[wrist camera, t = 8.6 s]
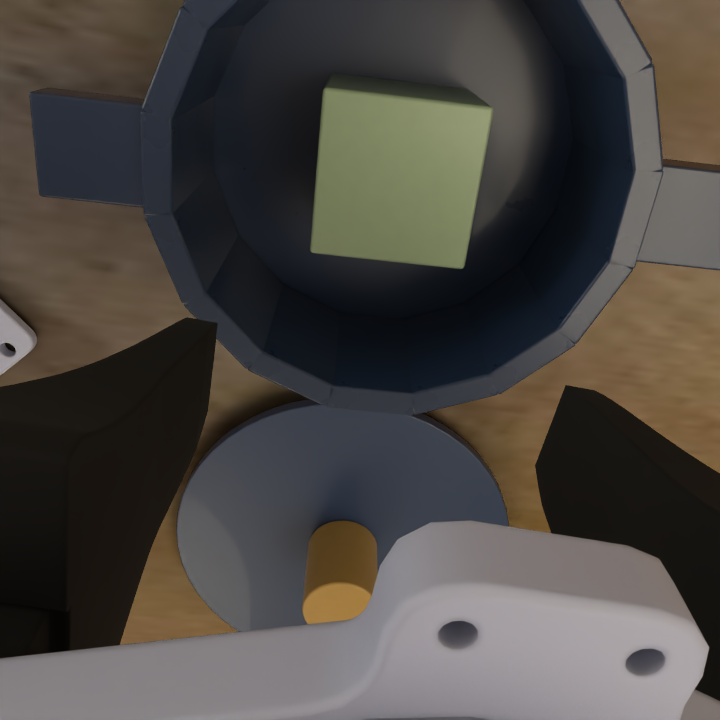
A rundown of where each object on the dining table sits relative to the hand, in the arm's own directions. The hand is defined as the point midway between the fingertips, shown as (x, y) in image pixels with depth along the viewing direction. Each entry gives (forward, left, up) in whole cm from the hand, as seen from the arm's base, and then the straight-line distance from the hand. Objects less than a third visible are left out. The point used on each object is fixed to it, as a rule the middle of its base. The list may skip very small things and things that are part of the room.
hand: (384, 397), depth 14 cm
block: (+2, +2, -9) cm, 9 cm away
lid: (-8, -8, -8) cm, 14 cm away
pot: (+2, +2, -9) cm, 10 cm away
